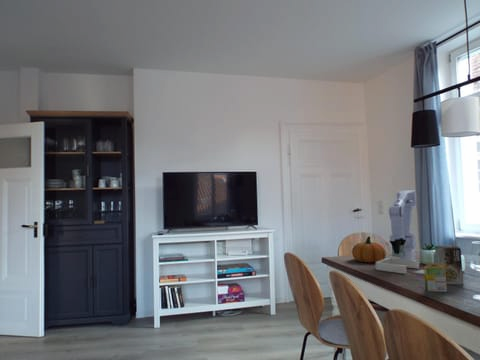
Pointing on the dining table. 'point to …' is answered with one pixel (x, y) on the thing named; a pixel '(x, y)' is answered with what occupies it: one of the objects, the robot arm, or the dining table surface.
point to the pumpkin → (368, 252)
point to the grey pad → (420, 272)
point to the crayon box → (435, 277)
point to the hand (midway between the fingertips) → (398, 253)
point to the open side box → (396, 265)
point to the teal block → (401, 252)
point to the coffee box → (450, 263)
